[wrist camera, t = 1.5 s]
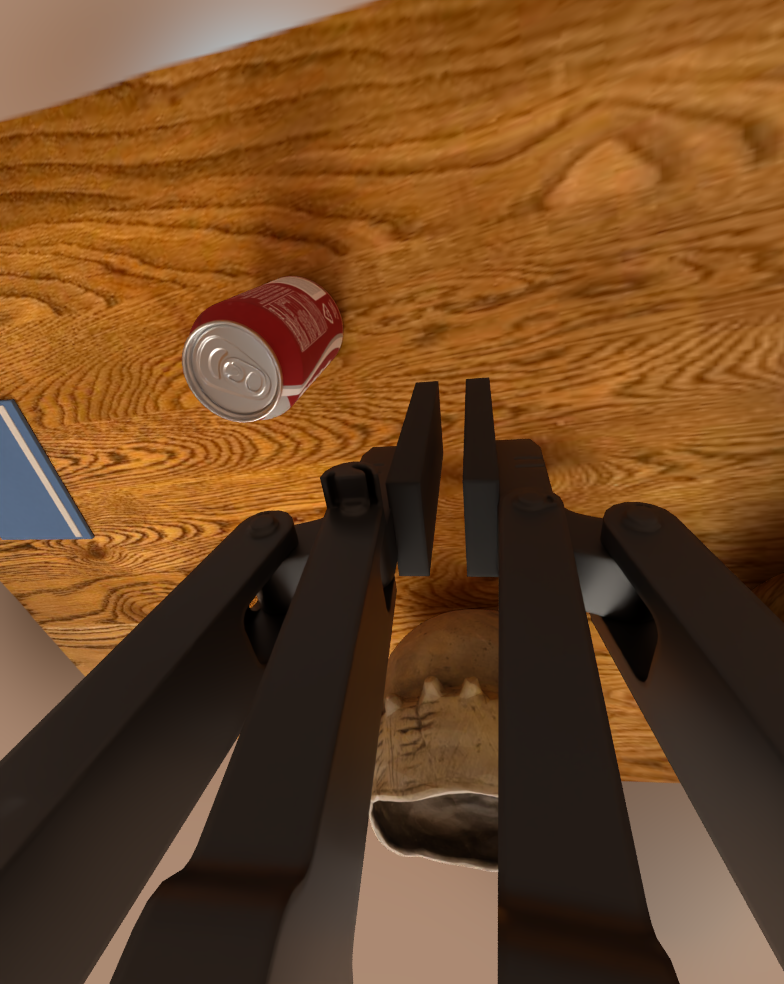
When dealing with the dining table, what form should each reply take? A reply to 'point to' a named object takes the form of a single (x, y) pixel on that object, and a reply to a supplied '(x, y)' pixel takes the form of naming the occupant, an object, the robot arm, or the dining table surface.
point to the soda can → (262, 348)
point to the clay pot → (441, 743)
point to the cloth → (32, 486)
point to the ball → (772, 595)
